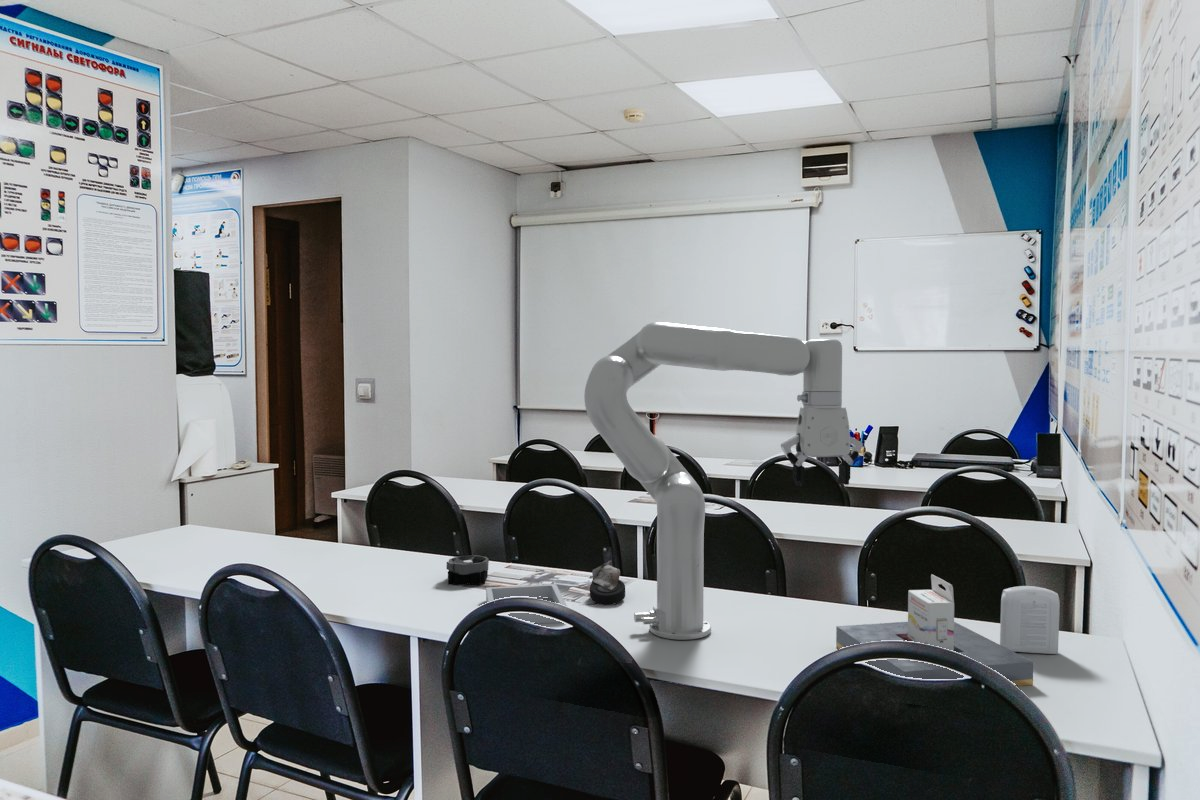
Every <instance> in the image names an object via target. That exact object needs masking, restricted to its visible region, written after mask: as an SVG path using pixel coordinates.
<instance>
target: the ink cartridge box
mask: <svg viewBox="0 0 1200 800" xmlns="http://www.w3.org/2000/svg"><path fill="white" fill-rule="evenodd" d="M930 582H931V583H930V584H931V589H909V590H908V592H907V593H908V594H907V596H908V597H907V602H908V603H907V614H908V615H907V622H908V641H914V642H920V643H924V644H930V645H934V646H939V647H942V648H946V649H949V650H953V651H954V622H955V599H954V598H955V597H954V587H953V584H951V583H950V582H947V581H946V580H944V579H942V578H940V577H938V576H936V575H934V574H932V573H931V575H930ZM939 585H942V587H944V588H945V589H943V588H941V587H940V586H939Z"/></svg>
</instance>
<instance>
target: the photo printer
mask: <svg viewBox="0 0 1200 800" xmlns="http://www.w3.org/2000/svg"><path fill="white" fill-rule="evenodd" d="M1060 605H1061V604H1060V597H1059V594H1058V593H1057V592H1056V591H1053V590H1051V589H1049V588H1044V587H1040V586H1034V585H1033V586H1031V585H1019V586H1013V587H1008V588H1004V589H1003V590H1002V592H1001V599H1000V621H999V622H1000V627H999V645H1001V646H1003V647H1005V648H1007V649H1009V650H1011V651H1013V652H1015V653H1017V652H1018V653H1031V654H1043V655H1044V654H1048V655H1049V654H1050V655H1057V654H1058V653H1059V633H1060Z"/></svg>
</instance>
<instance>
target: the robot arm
mask: <svg viewBox="0 0 1200 800" xmlns="http://www.w3.org/2000/svg"><path fill="white" fill-rule="evenodd" d="M661 365H664V366H674V367H683V368H693V369H702V370H710V371H721V372H722V371H723V372H725V371H728V372H729V371H740V372H741V371H742V372H743V371H745V372H755V373H762V374H763V373H765V374H772V375H777V376H778V375H779V376H788V377H790V376H791V377H792V376H797V375H799V374H803V380H802V381H803V386H802V387H803V389H802V390H803V391H802V393H801V394H797V396H796V400H797V402H801V403H802V405H803V406H800V407H799V412H798V416H797V422H796V431H795V435H794V436H793V437H791V438H789V439H787V440H785V441H783V442H782V443H781V444H780V448H781V450H782V452H783V454H784V457H785V458H786V459H787V460H788V461H789V462H790V464H791V465H792V479H793V481H794V485H796V486H799V487H803V486H805V466H803V464H804V462H805V461H807V458H808V457H809V458H829V457H830V458H831V457H837V458H838V460H839V461H840V463H839V464H838V483H840V484H842V485H847V486H848V485H849V484H850V479H851V466H852V465H853V464H854V462H855V460H856V459H857V458H858V456H859V453H860V452H861V449H862V448H863V446H864V443H863V442H862V441H860V440H858V439H856V438H855V437H852V436H851V434H850V433H851V431H850V424H849V423H850V422H849V417H848V412H847V408H846V407H845V406H843V405H842V403H843V399H842V398H843V397H842V396H843V395H842V394H843V345H842V343H841V341H840V340H838V339H833V338H819V339H816V338H815V339H808V340H801V339H799V338H797V337H793V336H785V335H783V336H782V335H776V334H765V333H756V332H755V333H754V332H746V331H738V330H733V329H732V330H731V329H727V328H719V327H709V326H699V325H690V324H688V325H687V324H682V323H672V322H663V321H662V322H661V321H655V322H650V323H647V324H646V325H645V326H643V327H642V328H641V329H640V331H639V332H637V333H636V334H635V335H633V336H632V337H630V339H627V341H626V342H624V343H623V344H621V345H620V346H619V347H617V348H616V349H615V350H613V351H612V352H610V353H609V354H608V355H606V356H604V357H601V358H600V359H599V360H597V361H596V362H595V364H593V366H592V368H591V370H590V372H589V374H588V378H587V381H586V383H585V389H584V397H583V398H584V407H585V410H586V414H587V416H588V419H589V420H590V423H591V424H592V426H593V427H594V428H595V430H596V431H597V433H598V434H599V435H600V436H601V437H602V439H603V440H604V441H605V444H607V446H608V447H609V448H610V449H611V451H612V452H613V453H614V455H615V456H616V457H617V458H618V460H619V461H620V462H621V463H622V465H623V466H624V467H625V469H626V471H627V473H628V474H629V475H630V476H631V477H632V478H633V479H635V480H637V481H638V482H639V483H640V484H641V486H642V487H643V489H644V490H645V491H646V492H647V493H648V495H649V496H650V497H651V498H652V499H653V500H654V502H655V503H656V514H657V517H656V605H653V606H652V610H649V611H648V612H634V614H633V619H634V620H633V621H634V623H642V624H643V625H649V631H650V633H652V634H653V635H655V636H657V637H659V638H664V639H670V640H677V641H684V640H685V641H687V640H688V641H689V640H697V639H701V638H704V637H706V636H708V635H710V634H711V632H712V625H711V624H710V623H709V622H708V621H707V620H705V619H704V591H705V590H704V586H705V585H704V568H705V567H704V565H705V563H704V562H705V561H704V548H705V547H704V543H705V542H704V541H705V540H704V539H705V537H704V533H705V519H706V518H705V517H706V502H705V496H704V493H703V491H702V489H701V487H700V485H699V484H698V483H697V481H696V480H695V479H694V477H693V476H692V475H691V474H690V472H688V470H687V469H686V467H684V466H683V464H682V463H681V462H680V461H679V459H678V458H677V457H676V455H674V453H673V452H672V451H671V450H670V448H669V447H668V446H667V445H666V444H665V442H664V441H663V440H662V439H661V438H660V437H658V436H656V435H655V434H653V433H652V432H651V430H650V429H649V428H648V426H646V423H644V422H643V420H641V418H640V416H639V415H638V414H637V413H636V412H635V410H634V409H633V407H632V406H631V405H630V403H629V401H628V397H627V393H628V391H629V389H630V388H632V387H633V386H634V385H636V384H637V383H639V382H640V381H641V380H642V379H644V378H645V377H646V376H648V375H649V374H651V373H652V372H653V371H655V370H656V369H657V368H658V367H660V366H661ZM794 446H795V452H796V453H795V454H794V453H793V451H792V450H791V449H792V447H794ZM851 446H852V448H851Z"/></svg>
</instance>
